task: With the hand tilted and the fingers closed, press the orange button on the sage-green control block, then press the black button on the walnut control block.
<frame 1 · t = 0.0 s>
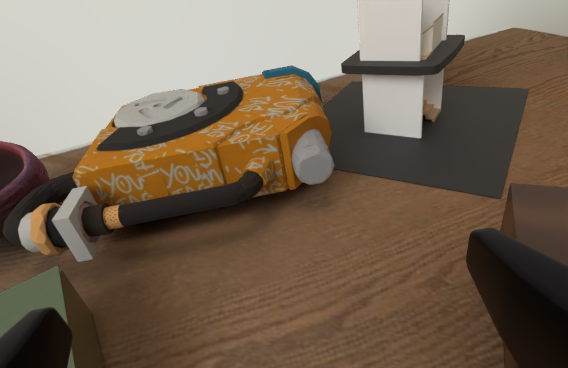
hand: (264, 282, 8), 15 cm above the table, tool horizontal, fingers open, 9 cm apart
dark square-based piece: (402, 122, 46), on the table, touching device
device: (203, 186, 40), on the table, touching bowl, dark square-based piece
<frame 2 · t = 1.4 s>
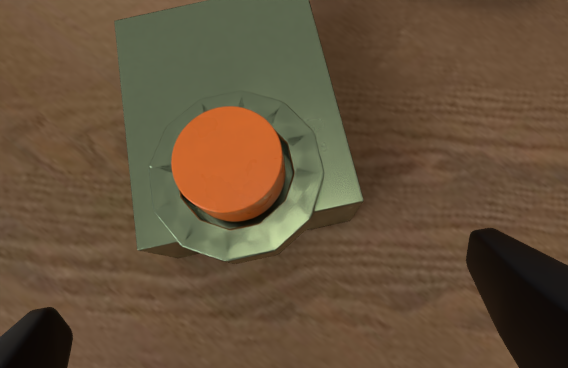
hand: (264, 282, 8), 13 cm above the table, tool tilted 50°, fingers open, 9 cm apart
green block: (245, 142, 23), on the table
orange button: (231, 165, 14), point 8 cm above the table, slide at 0.1 cm
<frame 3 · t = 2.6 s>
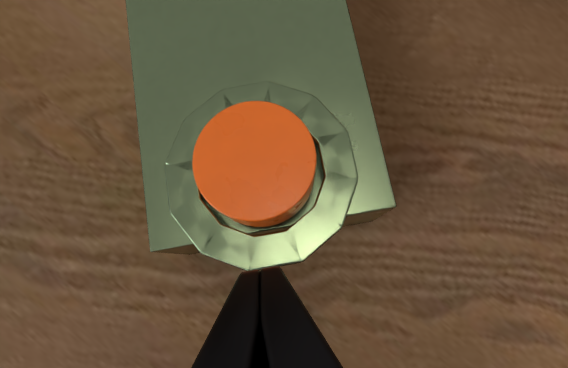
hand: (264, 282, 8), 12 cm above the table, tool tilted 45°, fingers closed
green block: (262, 133, 21), on the table
orange button: (257, 166, 13), point 8 cm above the table, slide at 0.1 cm
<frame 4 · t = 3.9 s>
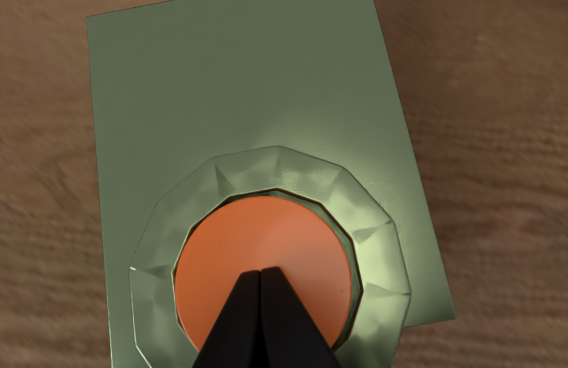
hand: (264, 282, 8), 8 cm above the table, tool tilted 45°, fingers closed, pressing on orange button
green block: (266, 184, 17), on the table
orange button: (266, 281, 9), point 7 cm above the table, slide at -0.6 cm, touching gripper
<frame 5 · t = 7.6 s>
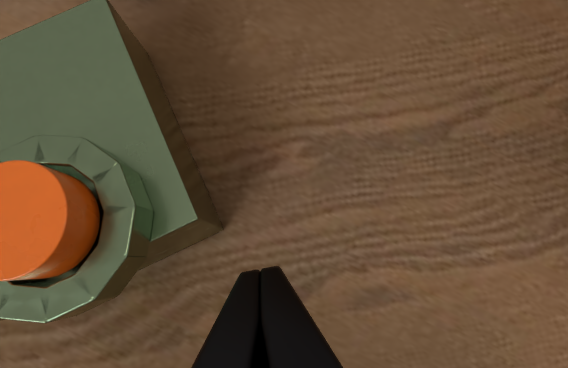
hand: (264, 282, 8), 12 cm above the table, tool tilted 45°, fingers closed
green block: (104, 172, 21), on the table
orange button: (30, 221, 13), point 8 cm above the table, slide at 0.1 cm
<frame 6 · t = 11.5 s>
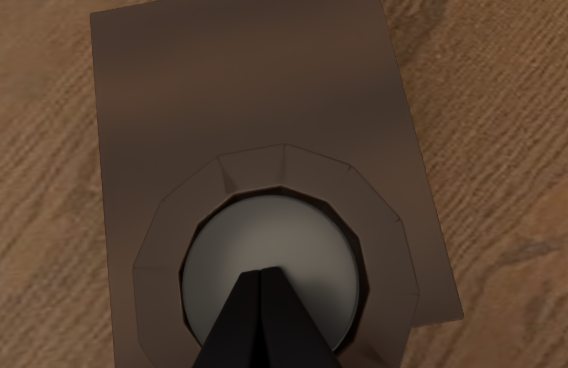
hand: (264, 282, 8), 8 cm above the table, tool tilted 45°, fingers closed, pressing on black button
black button: (273, 280, 9), point 7 cm above the table, slide at -0.7 cm, touching gripper
walnut block: (270, 182, 17), on the table
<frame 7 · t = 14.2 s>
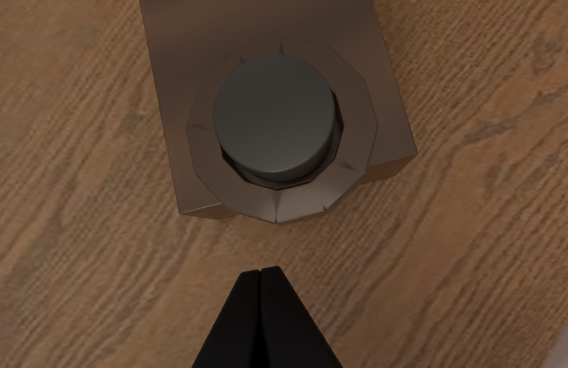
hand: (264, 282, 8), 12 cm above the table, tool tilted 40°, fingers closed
black button: (276, 121, 13), point 8 cm above the table, slide at 0.1 cm
walnut block: (278, 96, 21), on the table
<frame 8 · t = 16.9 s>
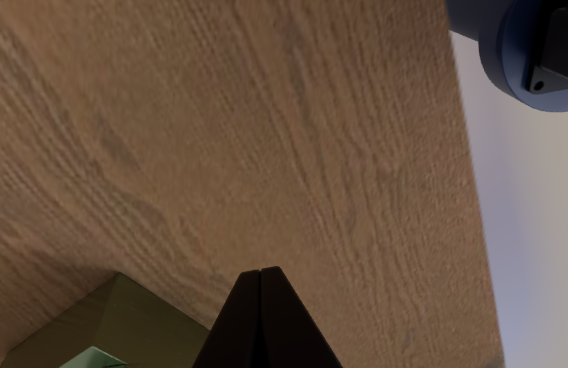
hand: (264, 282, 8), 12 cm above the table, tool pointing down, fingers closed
green block: (120, 347, 27), on the table
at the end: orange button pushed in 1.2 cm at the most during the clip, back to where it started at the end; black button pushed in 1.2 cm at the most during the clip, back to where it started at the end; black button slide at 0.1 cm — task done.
